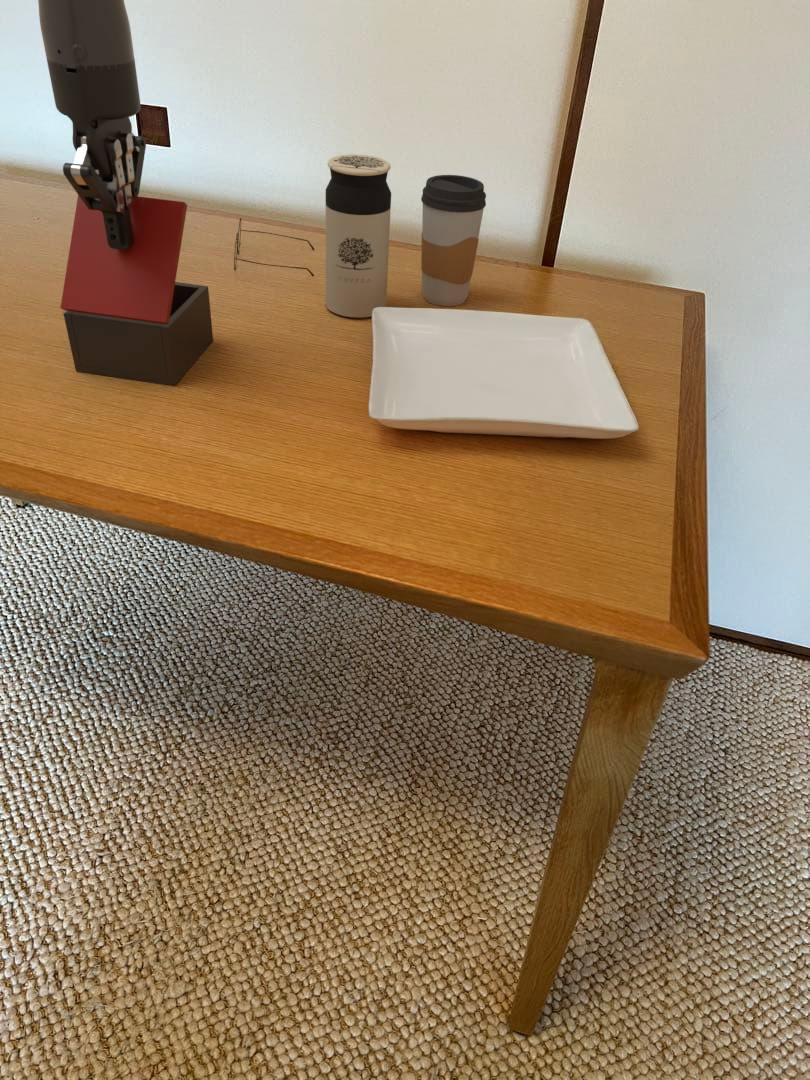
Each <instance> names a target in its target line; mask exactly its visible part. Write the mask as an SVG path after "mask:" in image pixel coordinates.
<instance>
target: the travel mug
mask: <svg viewBox="0 0 810 1080" xmlns="http://www.w3.org/2000/svg"><path fill="white" fill-rule="evenodd" d="M327 167H328V168H329V170H330V180H329V182H328V184H327V186H326V188H325V306H326V309H328V310H329V311H330V312H332V313H334V314H336V315H338V316H342V317H345V318H351V319H352V318H353V319H367V318H370V317H371V318H372V311H373V309H374V308H377V307H387V290H388V270H389V250H390V232H391V231H390V229H391V209H392V192H391V189H390V186H389V185H388V182H387V180H388V179H387V178H388V173H389V172H390V170H391V164H390V162H389V161H388V160H386V159H384V158H381V157H378V156H373V155H368V154H367V155H366V154H341V155H336V156H333V157H331V158H330V159H328V161H327Z"/></svg>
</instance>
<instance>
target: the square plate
mask: <svg viewBox="0 0 810 1080" xmlns="http://www.w3.org/2000/svg"><path fill="white" fill-rule="evenodd" d="M371 328H372V331H371V332H372V359H371V361H372V362H371V364H372V365H371V371H370V372H371V373H370V383H369V396H368V416H369V417H370V418H371V419H373V420H375V421H377V422H378V423H379V424H381V425H383V426H385V427H388V428H391V429H397V430H398V429H399V430H412V431H413V430H414V431H430V432H437V433H448V434H449V433H451V434H452V433H453V434H473V435H474V434H477V435H496V436H497V435H498V436H500V435H501V436H520V437H521V436H522V437H540V438H555V439H556V438H557V439H558V438H563V439H564V438H576V439H577V438H578V439H600V440H601V439H602V440H603V439H618V438H623V437H625V436H628V435H630V434H632V433H634V432H637V431H639V428H640V426H639V423H638V420H637V418H636V416H635V413H634V411H633V409H632V407H631V405H630V403H629V401H628V399H627V397H626V395H625V392H624V390H623V388H622V386H621V384H620V382H619V380H618V377H617V376H616V373H615V371H614V369H613V366H612V364H611V362H610V360H609V358H608V356H607V354H606V351H605V348H604V347H603V344H602V342H601V340H600V338H599V335H598V333H597V331H596V329H595V328H594V326H593V323H592V322H591V321H590V320H588V319H585V318H579V317H566V316H565V317H564V316H563V317H562V316H553V315H552V316H551V315H540V314H530V313H529V314H528V313H516V312H504V311H490V310H476V309H475V310H474V309H457V308H456V309H455V308H453V309H452V308H426V307H425V308H423V307H394V306H393V307H390V306H386V307H377V308H374V309H373V311H372V316H371Z"/></svg>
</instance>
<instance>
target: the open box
mask: <svg viewBox="0 0 810 1080" xmlns="http://www.w3.org/2000/svg"><path fill="white" fill-rule="evenodd" d="M210 303H211V301H210V291H209V286H208V285H201V284H195V283H188V282H187V283H186V282H178V281H175V286H174V293H173V299H172V306H171V312H170V318H169V324H168V325H167V324H160V323H152V322H145V321H138V320H131V319H124V318H117V317H109V316H102V315H95V314H88V313H81V312H73V311H66V310H65V311H64V312H63V318H64V319H63V320H64V323H65V328H66V332H67V338H68V341H69V346H70V350H71V356H72V360H73V364H74V369H75V372H78V373H84V374H91V375H97V376H98V375H99V376H106V377H113V378H118V379H119V378H121V379H125V380H134V381H141V382H146V383H154V384H159V385H166V386H167V385H168V386H174V387H176V386H177V384H178V383H180V381H181V380H182V379H183V377H184V376H185V375H186V374H187V373H188V372H189V370H191V368H192V367H193V366H194V365H195V363H196V362H197V361H198V360H199V358H200V357H201V356H202V354H204V353H205V351H206V350H207V349H208V347H210V345H212V343H213V342H214V333H213V323H212V313H211V304H210Z"/></svg>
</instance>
